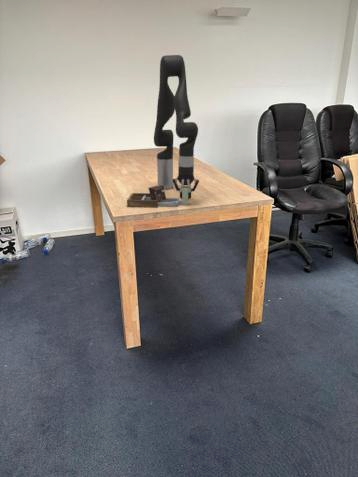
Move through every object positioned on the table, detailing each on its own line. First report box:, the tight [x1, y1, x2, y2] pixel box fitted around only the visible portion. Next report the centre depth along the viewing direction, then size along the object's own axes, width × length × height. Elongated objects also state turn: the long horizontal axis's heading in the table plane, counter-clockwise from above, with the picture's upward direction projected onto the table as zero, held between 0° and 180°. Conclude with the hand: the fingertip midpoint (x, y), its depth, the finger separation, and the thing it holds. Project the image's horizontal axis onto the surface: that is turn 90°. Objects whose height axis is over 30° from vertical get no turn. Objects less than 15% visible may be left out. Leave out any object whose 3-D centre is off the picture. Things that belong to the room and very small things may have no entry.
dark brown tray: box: [126, 192, 159, 209], centre depth 185 cm, size 14×15×4 cm
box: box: [148, 184, 167, 202], centre depth 183 cm, size 6×6×7 cm
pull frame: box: [142, 185, 189, 208], centre depth 183 cm, size 9×24×9 cm, turn 85°
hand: (185, 198), depth 183 cm, fingers closed on pull frame, 3 cm apart
